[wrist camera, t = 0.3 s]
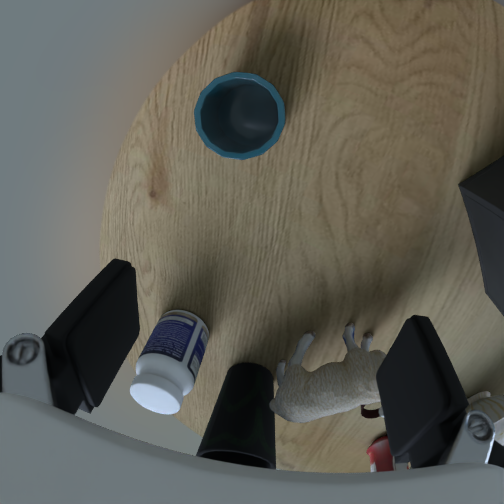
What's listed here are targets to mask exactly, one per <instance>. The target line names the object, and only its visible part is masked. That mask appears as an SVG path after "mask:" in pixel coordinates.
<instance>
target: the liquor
mask: <svg viewBox="0 0 504 504" xmlns="http://www.w3.org/2000/svg"><path fill="white" fill-rule="evenodd" d="M367 454H368V455H369V456H370V464H371V472H384V471H396V470H407V469H409V466H408V463H400V464H395V459H394V456H392V455H391V453H390V448H389V442H388V436H384V437H381V438H379V439H377V440H375V441H374V442H373V444H372V445H371V446H370V447H369V448H368V450H367Z"/></svg>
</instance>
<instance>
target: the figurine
mask: <svg viewBox="0 0 504 504" xmlns="http://www.w3.org/2000/svg"><path fill="white" fill-rule="evenodd" d="M354 330H355V327H354V324H353V323H348V324H347V325H346V326H345V332H344V334H343V339H344V341H345V344H346V346H347V350H348V352H347V354H346V355H345V358H344V361H342V362H331V363H327V364H325V365H323V366H321V367H319V368H318V369H316V370H315V371H313V372H308V371H307V370H305V369H304V368H303V367H302V366H301V363H302V359H303V356H304V354H305V351H306V350H307V348H308V347H309V345H310V343H311V342H312V340H313V339H314V338H315V335H316V334H315V332H313V331H307V332H305V334H304V335H303V336H302V338H301V339H300V340H299V341H298V344H297V347H296V350H295V352H294V354H293V356H292V358H291V359H290V360H289V363H288V368H287V370H286V371H285V375H284V368H285V364H286V361H285V360H281V361H280V362H279V364H278V366H277V369H276V374H277V380H278V385H279V388H278V390H277V393H276V397H275V398H274V399H272V400H271V401H270V403H269V407H270V409H271V410H272V411H273V412H275V413H276V414H278V415H279V416H281V417H282V418H284V419H286V420H287V421H291V422H299V423H303V422H309V421H312V420H315V419H317V418H321V417H324V416H327V415H333V414H336V413H340V412H344V411H348V410H351V409H353V408H356V407H357V406H359V405H366V404H371V403H374V402H381V400H380V395H379V391H378V386H377V382H376V373H377V370H378V369H379V367H380V365H381V364H382V362H383V360H384V359H385V357H386V354H385V353H383V352H382V351H380V350H373V351H370V352H369V346H370V343H371V341H372V340H373V337H372V336H371V334H370V333H366V334H364V336H363V340H362V342H361V348H359V347H358V346H357V345H356V344H355V341H354Z"/></svg>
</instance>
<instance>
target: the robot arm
mask: <svg viewBox="0 0 504 504" xmlns="http://www.w3.org/2000/svg"><path fill="white" fill-rule="evenodd" d="M139 331H140V324H139V313H138V301H137V286H136V271H135V268H134V267H132V266H131V263H130V262H128V261H124V260H119V259H113V260H112V261H111V262H110V263H109V264H108V265H107V266H106V267H105V268H104V269H103V270H102V271H101V272H100V273H99V274H98V275H97V276H96V277H95V278H94V279H93V280H92V281H91V282H90V283H89V284H88V285H87V286H86V287H85V288H84V290H82V292H81V293H80V294H79V295H78V296H77V297H76V298H75V299H74V300H73V301H72V302H71V303H70V304H69V306H68V307H67V308H66V309H65V310H64V311H63V312H62V313H61V314H60V316H59V317H58V318H57V319H56V320H55V321H54V322H53V324H52V325H51V326H50V327H49V328H48V329H47V330H46V332H45V334H44V336H43V337H42V338H40V337H38V336H37V335H35V334H30V333H22V334H19V335H16V336H14V337H13V338H11V339H10V340H9V341H8V342H7V343H6V345H5V346H4V349H3V354H2V355H1V356H0V504H504V446H502V445H501V444H500V443H498V442H497V441H495V440H494V437H495V426H494V424H493V421H492V420H491V418H490V417H489V416H488V415H487V414H486V413H485V412H483V411H480V410H475V409H474V410H470V411H469V412H468V413H466V410H465V409H466V408H467V407H468V405H469V403H468V400H467V398H466V395H465V393H464V390H463V388H462V386H461V383H460V381H459V379H458V376H457V374H456V372H455V370H454V368H453V365H452V363H451V361H450V359H449V357H448V355H447V353H446V350H445V348H444V346H443V344H442V342H441V340H440V338H439V336H438V334H437V332H436V330H435V328H434V327H433V325H432V323H431V321H430V319H429V318H428V317H426V316H419V315H413V316H412V317H411V318H409V319H407V320H406V321H405V323H404V325H403V327H402V329H401V331H400V332H399V334H398V336H397V338H396V340H395V341H394V343H393V345H392V347H391V348H390V350H389V352H388V354H387V355H386V357H385V359H384V360H383V362H382V364H381V365H380V367H379V369H378V370H377V373H376V382H377V386H378V391H379V395H380V400H381V405H382V410H383V415H384V420H385V425H386V430H387V436H388V442H389V448H390V453H391V455H392V456H394V459H395V464H400V463H408V462H410V463H411V467H410V469H407V470H396V471H384V472H366V473H318V472H299V471H286V470H276V469H267V468H259V467H251V466H245V465H238V464H233V463H227V462H222V461H217V460H212V459H207V458H202V457H198V456H193V455H189V454H185V453H181V452H177V451H173V450H170V449H166V448H163V447H160V446H156V445H153V444H149V443H147V442H143V441H140V440H137V439H134V438H131V437H129V436H126V435H123V434H120V433H117V432H115V431H112V430H109V429H106V428H104V427H101V426H99V425H96V424H94V423H91V422H89V421H86V420H84V419H82V418H79V417H77V416H75V413H76V412H77V410H78V408H79V409H81V410H83V411H85V412H88V413H91V411H92V410H93V408H94V407H98V406H99V405H100V404H101V402H102V400H103V398H104V396H105V394H106V392H107V390H108V389H109V387H110V385H111V383H112V382H113V380H114V378H115V376H116V374H117V372H118V370H119V369H120V367H121V365H122V364H123V361H124V360H125V358H126V357H127V355H128V353H129V351H130V350H131V348H132V346H133V344H134V343H135V341H136V339H137V337H138V335H139Z"/></svg>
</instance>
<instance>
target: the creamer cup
mask: <svg viewBox="0 0 504 504" xmlns="http://www.w3.org/2000/svg"><path fill="white" fill-rule="evenodd" d="M194 116H195V125H196V131H197V133H198V134H199V136H200V137H201V139H202V141H203V142H204V144H205V145H206V146H207V147H208V148H209V149H211V150H212V151H214V152H216V153H217V154H219V155H220V156H222V157H225V158H232V159H239V160H245V159H248V158H252V157H255V156H259V155H262V154H263V153H265V152H266V151H267V150H268V149H269V148H270V147H271V146H273V145H274V144H275V143H276V142H277V141H278V139H279V137H280V134H281V132H282V130H283V127H284V125H285V122H286V116H285V105H284V101H283V100H282V98H281V96H280V95H279V93H278V91H277V90H276V88H275V87H274V85H273V84H271V83H270V82H268V81H266V80H265V79H263V78H262V77H260V76H258V75H257V74H252V73H243V72H232V73H229V74H226V75H223V76H221V77H218V78H216V79H214V80H213V81H212V82H211V83H210V84H209V85H208V86H207V87H206V88H205V89H204V90H203V91H202V92H201V93H200V96H199V98H198V101H197V104H196V107H195V109H194Z"/></svg>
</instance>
